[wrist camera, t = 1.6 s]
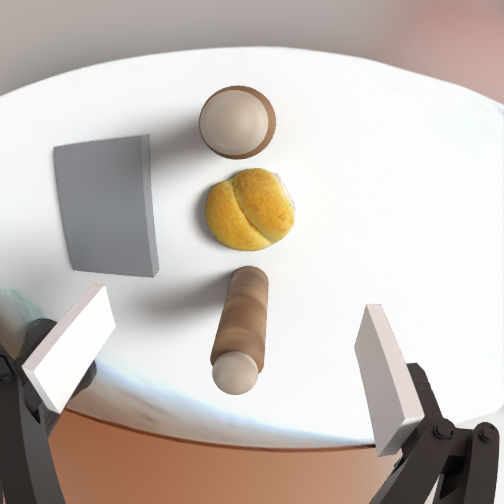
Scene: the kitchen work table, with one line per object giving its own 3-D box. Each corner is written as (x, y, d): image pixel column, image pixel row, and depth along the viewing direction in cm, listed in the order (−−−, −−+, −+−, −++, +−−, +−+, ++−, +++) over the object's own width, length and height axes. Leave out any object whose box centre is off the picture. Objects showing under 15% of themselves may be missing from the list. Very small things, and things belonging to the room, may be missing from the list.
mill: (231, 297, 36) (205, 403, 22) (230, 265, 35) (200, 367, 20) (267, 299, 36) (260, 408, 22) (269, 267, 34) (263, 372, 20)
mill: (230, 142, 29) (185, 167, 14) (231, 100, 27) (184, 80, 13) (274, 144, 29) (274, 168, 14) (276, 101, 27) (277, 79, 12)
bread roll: (195, 195, 32) (185, 205, 28) (270, 156, 29) (269, 161, 26) (233, 258, 34) (228, 275, 31) (305, 225, 32) (309, 239, 29)
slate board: (80, 263, 36) (73, 270, 34) (63, 144, 30) (53, 147, 28) (159, 269, 36) (153, 277, 34) (148, 134, 29) (140, 135, 27)
